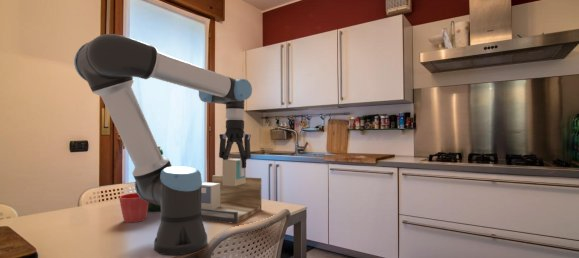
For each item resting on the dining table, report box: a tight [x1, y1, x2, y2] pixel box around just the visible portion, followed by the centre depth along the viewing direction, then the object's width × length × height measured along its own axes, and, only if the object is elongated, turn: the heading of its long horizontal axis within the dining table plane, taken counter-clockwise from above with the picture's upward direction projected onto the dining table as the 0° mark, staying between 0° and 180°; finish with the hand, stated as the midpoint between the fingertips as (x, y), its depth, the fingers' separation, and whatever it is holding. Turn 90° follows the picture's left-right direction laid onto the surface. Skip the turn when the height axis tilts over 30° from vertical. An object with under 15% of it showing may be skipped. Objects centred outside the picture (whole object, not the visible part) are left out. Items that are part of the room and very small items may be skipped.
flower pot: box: [118, 192, 149, 223], centre depth 118 cm, size 11×11×10 cm
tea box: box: [222, 158, 247, 186], centre depth 124 cm, size 8×6×10 cm
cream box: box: [201, 181, 220, 209], centre depth 130 cm, size 6×8×10 cm
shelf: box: [201, 174, 262, 224], centre depth 127 cm, size 21×25×14 cm
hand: (234, 175), depth 124 cm, fingers closed on tea box, 6 cm apart
